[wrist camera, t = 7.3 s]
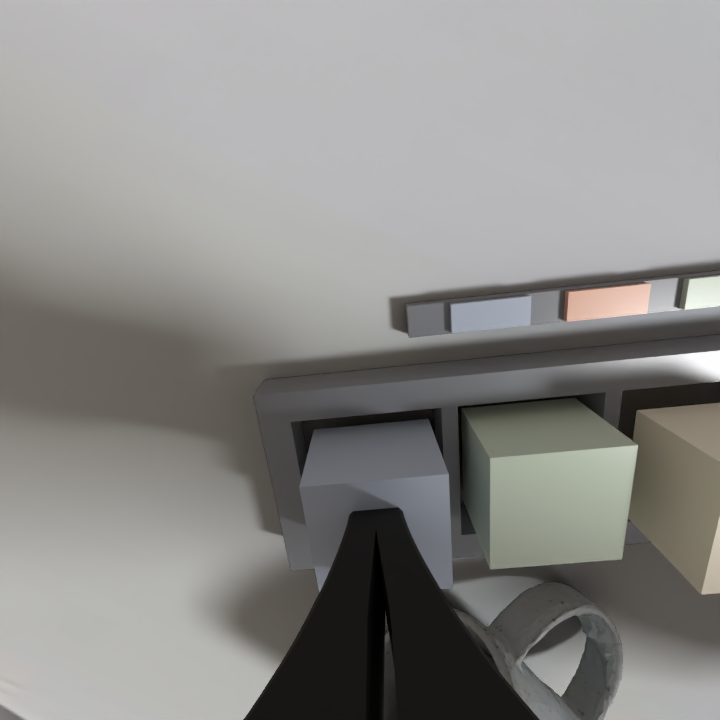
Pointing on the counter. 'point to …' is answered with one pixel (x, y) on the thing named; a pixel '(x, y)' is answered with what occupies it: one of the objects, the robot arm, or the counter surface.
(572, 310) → the strip
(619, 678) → the ceramic mug
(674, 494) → the sand key
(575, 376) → the keypad base
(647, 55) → the counter surface
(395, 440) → the slate key
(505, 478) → the sage key
